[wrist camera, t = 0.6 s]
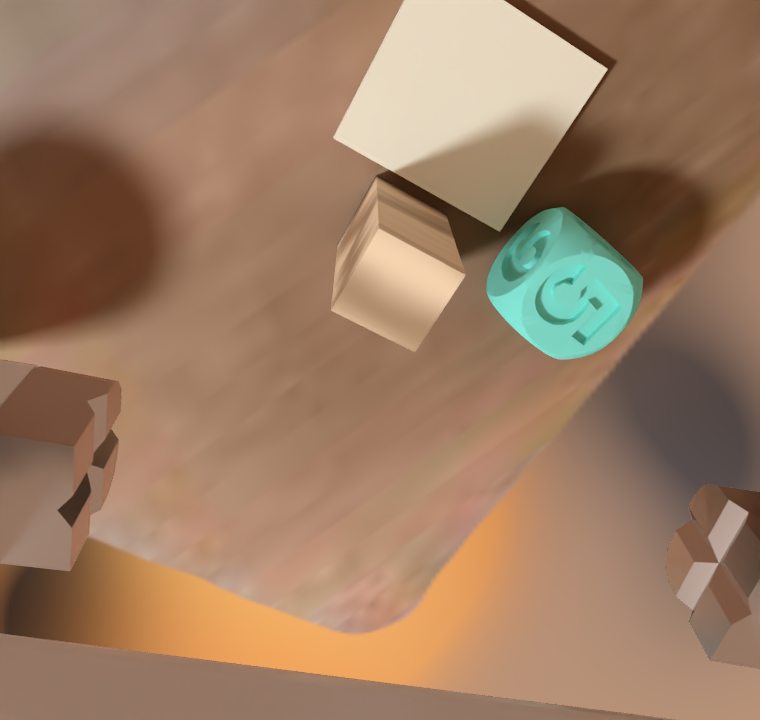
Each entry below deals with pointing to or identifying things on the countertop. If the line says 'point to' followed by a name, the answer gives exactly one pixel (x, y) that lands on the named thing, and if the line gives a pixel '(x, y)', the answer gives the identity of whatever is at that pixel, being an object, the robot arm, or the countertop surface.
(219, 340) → the countertop surface
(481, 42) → the mat
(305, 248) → the countertop surface
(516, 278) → the decorative dice
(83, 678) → the robot arm
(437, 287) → the birch block
